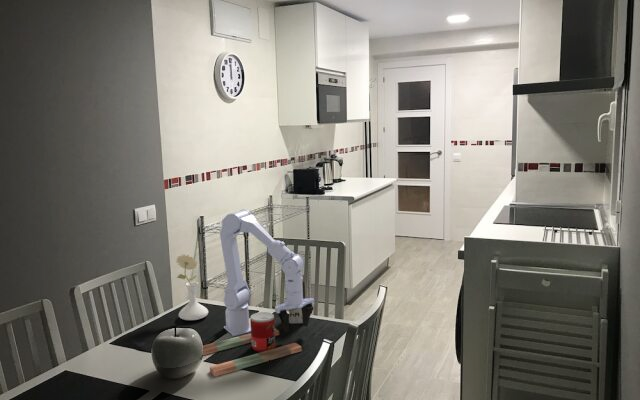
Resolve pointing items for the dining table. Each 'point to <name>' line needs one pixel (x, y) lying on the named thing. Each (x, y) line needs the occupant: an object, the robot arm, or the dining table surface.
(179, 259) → the flower in vase
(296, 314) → the coffee box
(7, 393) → the dining table surface
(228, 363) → the orange green bars
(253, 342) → the canned food
